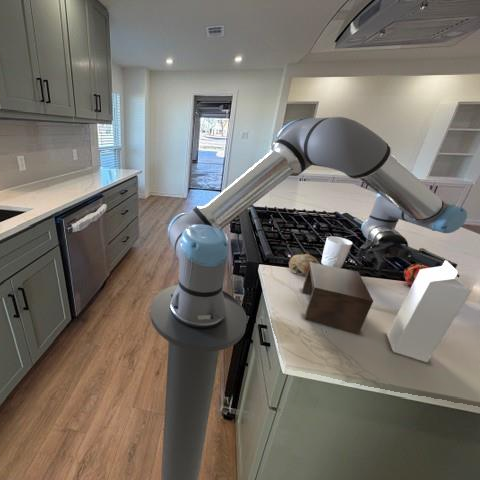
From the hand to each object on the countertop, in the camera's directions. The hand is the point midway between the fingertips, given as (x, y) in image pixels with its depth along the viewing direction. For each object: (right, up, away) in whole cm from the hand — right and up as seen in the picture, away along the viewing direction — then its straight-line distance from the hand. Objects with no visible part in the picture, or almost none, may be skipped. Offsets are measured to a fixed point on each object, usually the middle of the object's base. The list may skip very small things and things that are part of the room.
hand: (416, 273), depth 61 cm
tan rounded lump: (-10, -3, +31) cm, 33 cm away
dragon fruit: (+23, -8, +23) cm, 34 cm away
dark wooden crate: (-15, -12, +10) cm, 21 cm away
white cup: (+3, -2, +35) cm, 36 cm away
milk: (-5, -17, -2) cm, 18 cm away
